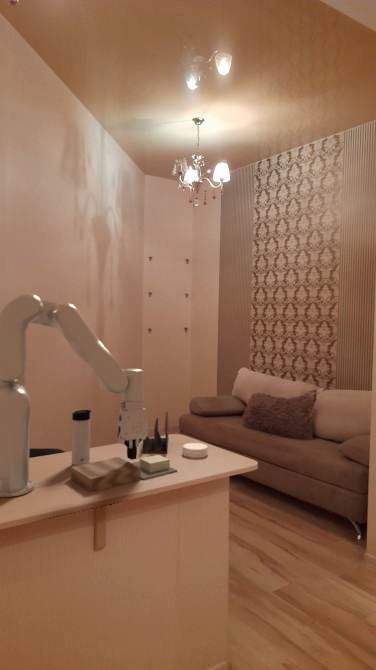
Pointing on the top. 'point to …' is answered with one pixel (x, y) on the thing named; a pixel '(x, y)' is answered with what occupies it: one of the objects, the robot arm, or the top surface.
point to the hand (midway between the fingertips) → (131, 458)
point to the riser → (105, 474)
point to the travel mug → (80, 437)
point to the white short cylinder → (195, 450)
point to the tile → (154, 463)
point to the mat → (148, 475)
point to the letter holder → (157, 440)
